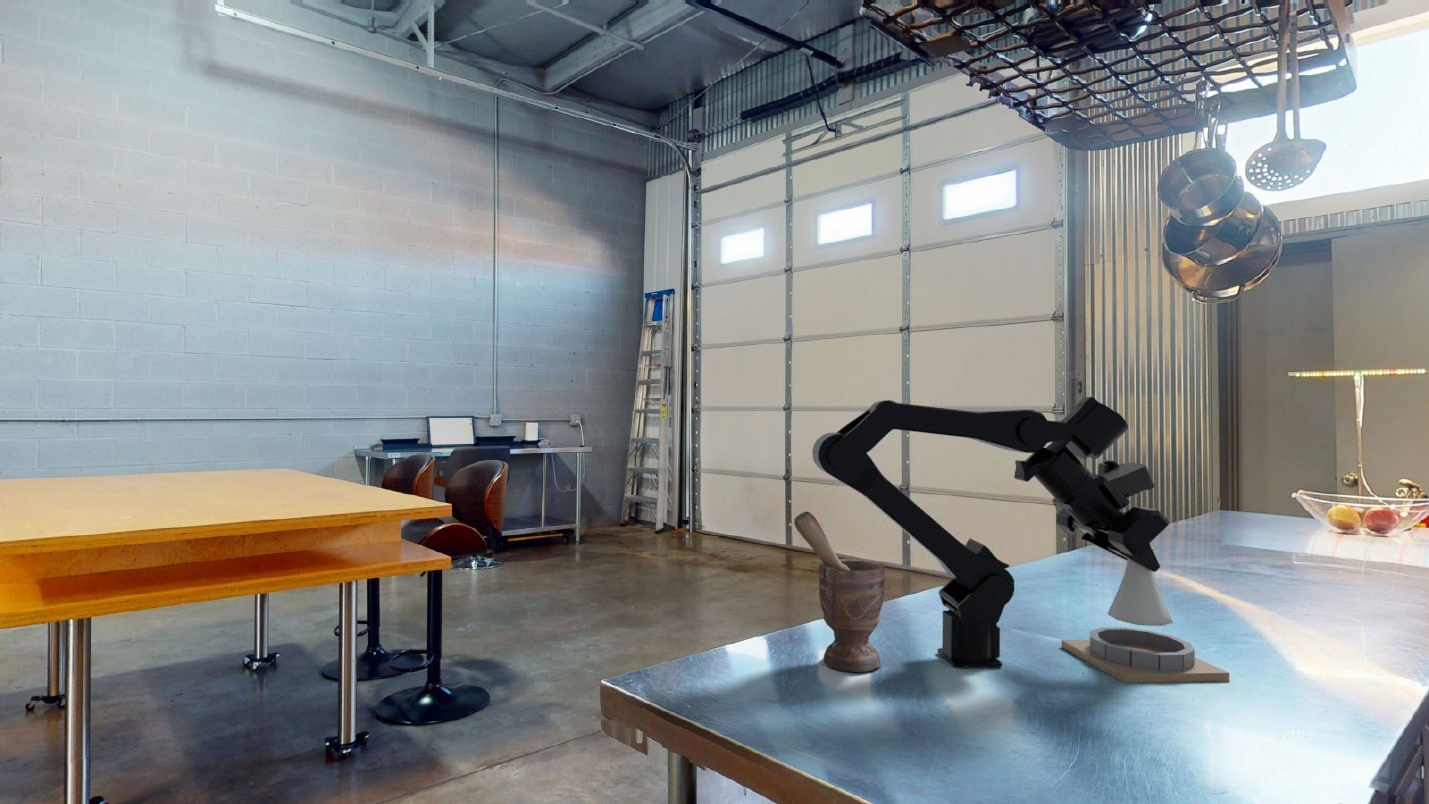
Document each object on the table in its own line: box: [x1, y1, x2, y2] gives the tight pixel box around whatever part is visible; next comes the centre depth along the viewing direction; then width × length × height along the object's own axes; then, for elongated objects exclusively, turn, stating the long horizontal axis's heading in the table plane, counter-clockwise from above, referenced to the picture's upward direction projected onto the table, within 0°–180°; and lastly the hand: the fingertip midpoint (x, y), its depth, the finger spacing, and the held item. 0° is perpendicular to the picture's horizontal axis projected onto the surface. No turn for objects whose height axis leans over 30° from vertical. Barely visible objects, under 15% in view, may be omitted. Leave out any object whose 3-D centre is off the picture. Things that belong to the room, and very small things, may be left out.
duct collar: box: [1060, 626, 1230, 684], centre depth 99 cm, size 14×14×3 cm
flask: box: [1107, 546, 1174, 627], centre depth 99 cm, size 7×7×10 cm
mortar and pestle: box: [793, 511, 886, 673], centre depth 97 cm, size 12×9×20 cm
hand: (1150, 566), depth 99 cm, fingers closed on flask, 3 cm apart
